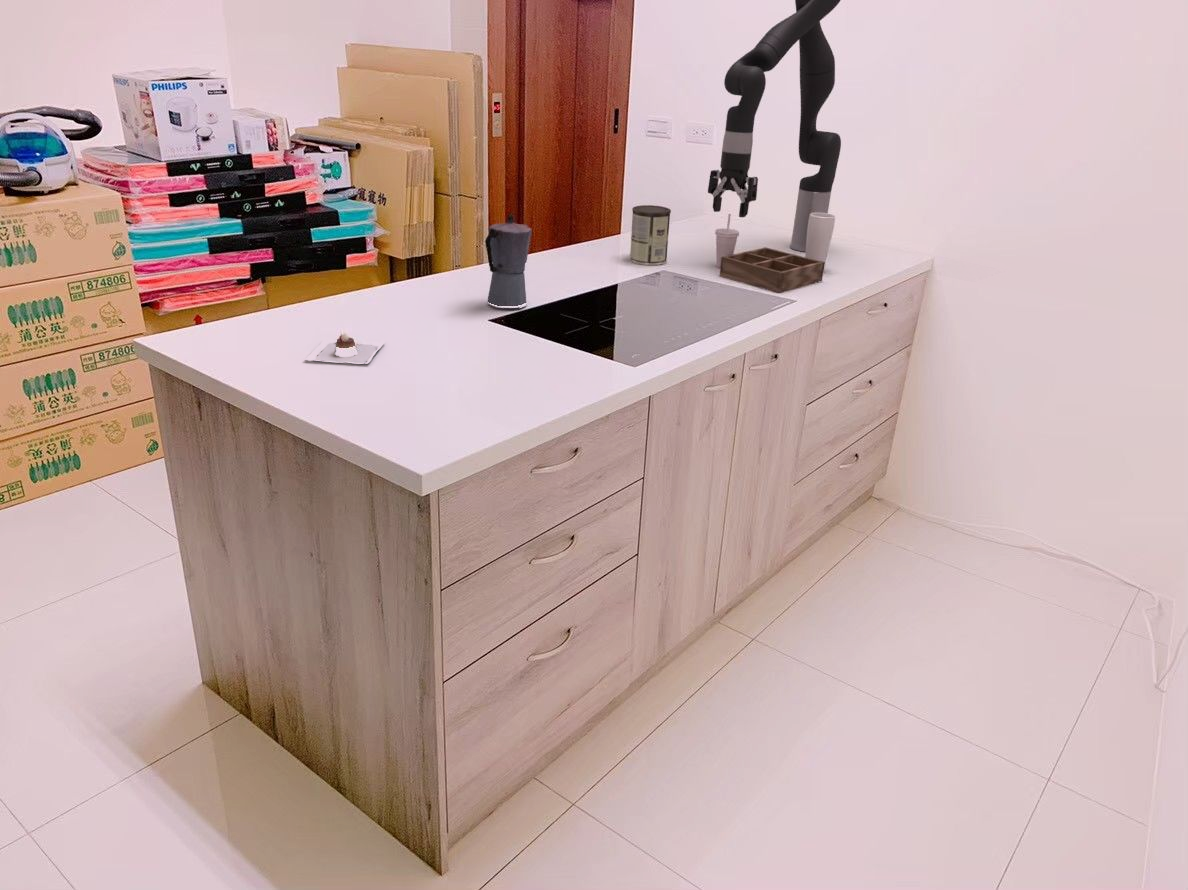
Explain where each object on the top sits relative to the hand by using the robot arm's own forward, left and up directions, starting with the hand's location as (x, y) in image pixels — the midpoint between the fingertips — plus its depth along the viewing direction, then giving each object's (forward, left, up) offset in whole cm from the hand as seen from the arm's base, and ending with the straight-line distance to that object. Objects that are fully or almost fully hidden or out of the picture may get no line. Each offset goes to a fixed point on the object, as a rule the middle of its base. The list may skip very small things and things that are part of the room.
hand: (729, 214), depth 231 cm
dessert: (+113, 0, -15) cm, 114 cm away
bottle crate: (-1, +15, -14) cm, 20 cm away
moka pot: (+70, -6, -14) cm, 72 cm away
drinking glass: (-18, +17, -14) cm, 29 cm away
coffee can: (+13, -16, -14) cm, 25 cm away
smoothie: (0, 0, -14) cm, 14 cm away
